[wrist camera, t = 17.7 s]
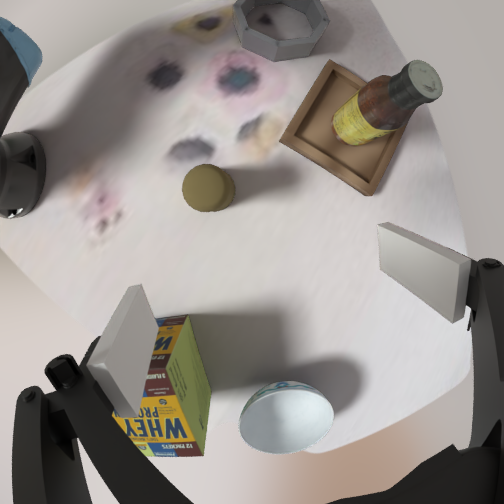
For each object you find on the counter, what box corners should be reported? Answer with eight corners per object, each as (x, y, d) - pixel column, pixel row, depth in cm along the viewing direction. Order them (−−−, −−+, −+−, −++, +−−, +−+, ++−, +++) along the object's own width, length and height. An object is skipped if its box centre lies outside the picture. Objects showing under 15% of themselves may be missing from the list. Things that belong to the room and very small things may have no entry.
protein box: (188, 312, 43) (166, 367, 28) (212, 392, 46) (205, 458, 31) (127, 321, 43) (86, 372, 28) (156, 397, 46) (134, 458, 31)
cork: (215, 159, 39) (206, 146, 28) (244, 191, 40) (246, 189, 29) (183, 189, 40) (163, 186, 29) (212, 220, 41) (202, 229, 30)
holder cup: (220, 38, 36) (218, 21, 31) (261, -10, 34) (263, -27, 29) (296, 73, 37) (302, 59, 32) (330, 22, 35) (339, 7, 30)
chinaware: (332, 406, 48) (344, 432, 40) (260, 435, 48) (263, 463, 41) (305, 348, 45) (316, 374, 38) (222, 383, 46) (220, 412, 38)
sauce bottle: (356, 155, 39) (440, 131, 19) (321, 131, 38) (385, 83, 19) (375, 122, 38) (458, 83, 18) (342, 98, 37) (409, 39, 18)
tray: (278, 141, 39) (281, 138, 37) (324, 65, 37) (329, 59, 35) (365, 196, 41) (372, 196, 39) (402, 119, 39) (410, 116, 36)
